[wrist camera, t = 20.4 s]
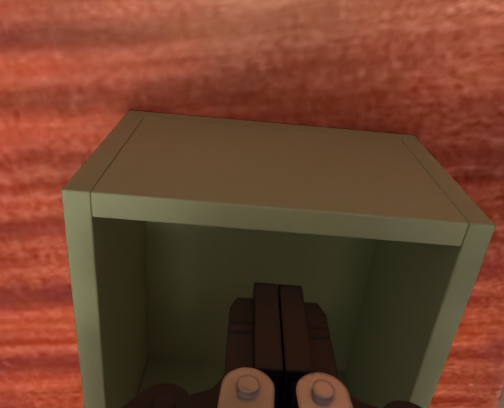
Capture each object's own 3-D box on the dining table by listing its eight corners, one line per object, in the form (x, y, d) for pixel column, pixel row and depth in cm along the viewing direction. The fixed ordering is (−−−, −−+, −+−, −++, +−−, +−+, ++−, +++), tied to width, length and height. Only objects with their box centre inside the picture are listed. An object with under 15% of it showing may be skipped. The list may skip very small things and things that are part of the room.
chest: (129, 109, 23) (60, 189, 15) (414, 134, 23) (497, 225, 15) (136, 355, 30) (93, 498, 22) (354, 370, 30) (388, 516, 22)
